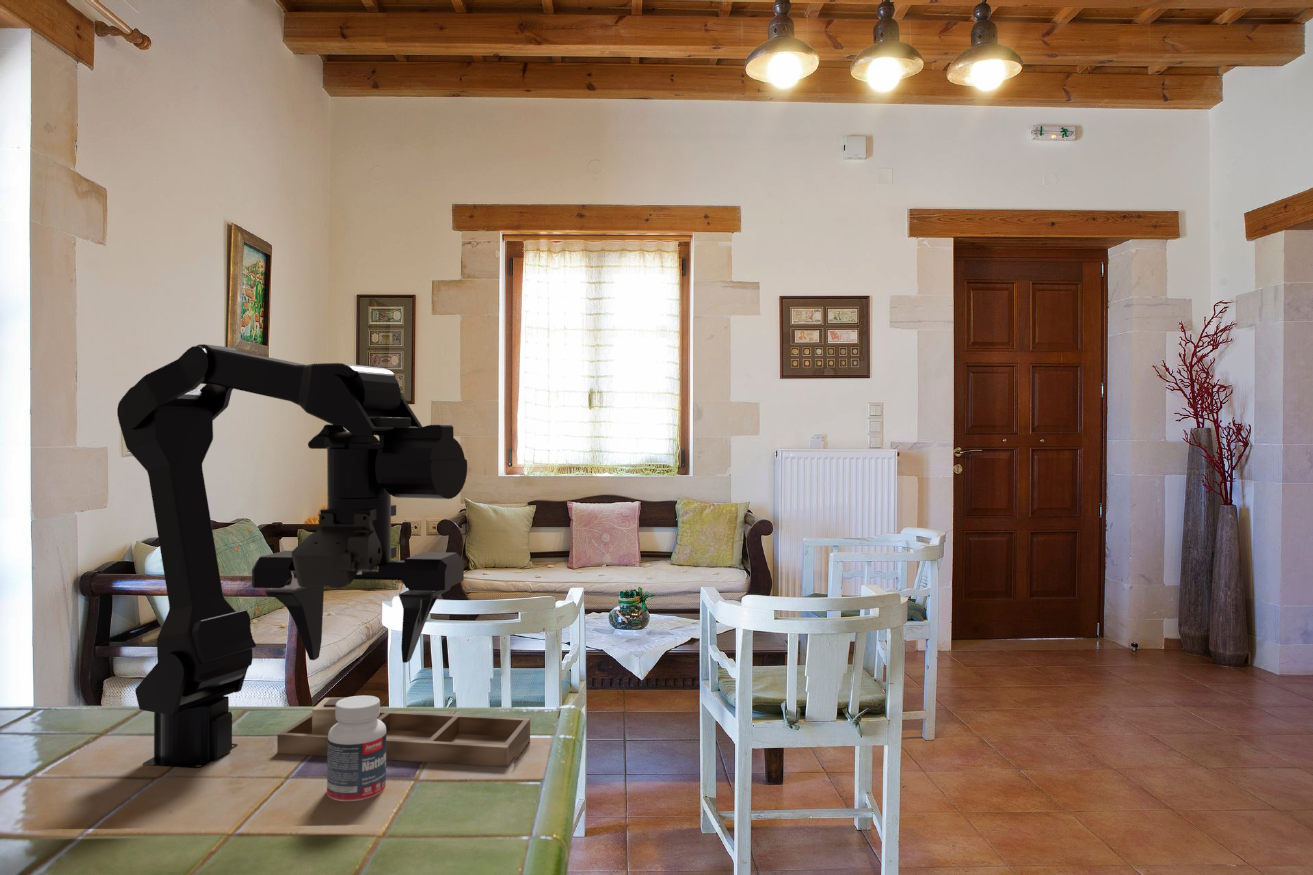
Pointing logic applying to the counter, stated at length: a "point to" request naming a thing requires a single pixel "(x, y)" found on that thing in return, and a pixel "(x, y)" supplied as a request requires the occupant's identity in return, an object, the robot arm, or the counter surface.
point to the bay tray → (428, 738)
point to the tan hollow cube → (324, 716)
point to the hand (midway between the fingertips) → (360, 660)
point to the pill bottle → (356, 750)
